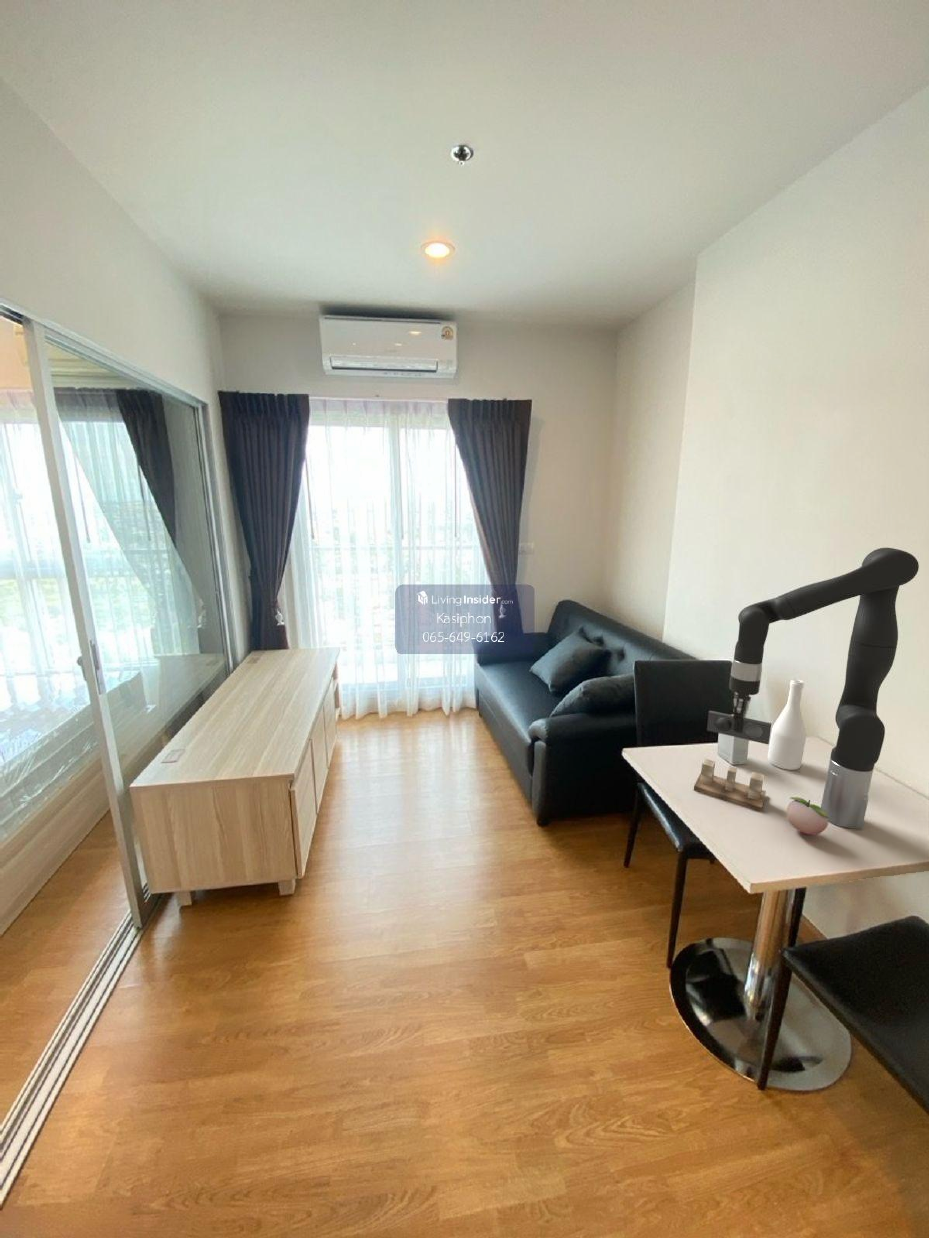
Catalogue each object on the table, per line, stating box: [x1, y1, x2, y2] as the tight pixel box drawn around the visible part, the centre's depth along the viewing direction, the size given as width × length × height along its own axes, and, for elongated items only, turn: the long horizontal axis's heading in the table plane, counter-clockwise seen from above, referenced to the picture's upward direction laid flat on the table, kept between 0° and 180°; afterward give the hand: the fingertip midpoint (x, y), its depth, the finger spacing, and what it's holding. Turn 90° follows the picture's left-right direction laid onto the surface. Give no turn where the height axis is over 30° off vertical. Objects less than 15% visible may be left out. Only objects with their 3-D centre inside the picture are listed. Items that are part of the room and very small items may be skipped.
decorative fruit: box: [785, 796, 829, 836], centre depth 125 cm, size 9×8×10 cm
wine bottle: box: [767, 678, 807, 771], centre depth 157 cm, size 10×10×30 cm
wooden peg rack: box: [693, 758, 767, 813], centre depth 144 cm, size 18×10×8 cm, turn 53°
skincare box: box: [716, 733, 750, 765], centre depth 163 cm, size 8×6×15 cm
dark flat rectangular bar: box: [706, 710, 772, 746], centre depth 139 cm, size 16×2×6 cm, turn 53°
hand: (738, 730), depth 140 cm, fingers closed on dark flat rectangular bar, 1 cm apart
